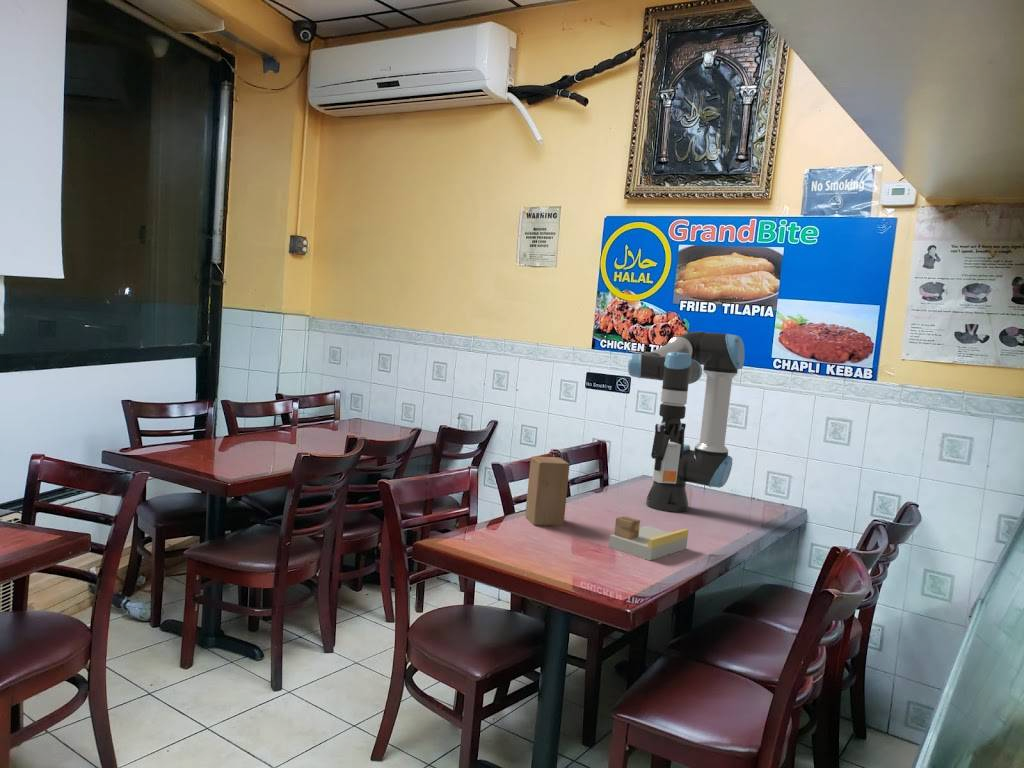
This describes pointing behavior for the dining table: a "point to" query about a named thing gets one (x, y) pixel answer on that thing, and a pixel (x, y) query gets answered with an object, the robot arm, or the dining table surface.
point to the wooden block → (547, 491)
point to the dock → (651, 543)
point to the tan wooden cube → (627, 527)
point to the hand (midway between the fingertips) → (664, 480)
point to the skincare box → (671, 463)
